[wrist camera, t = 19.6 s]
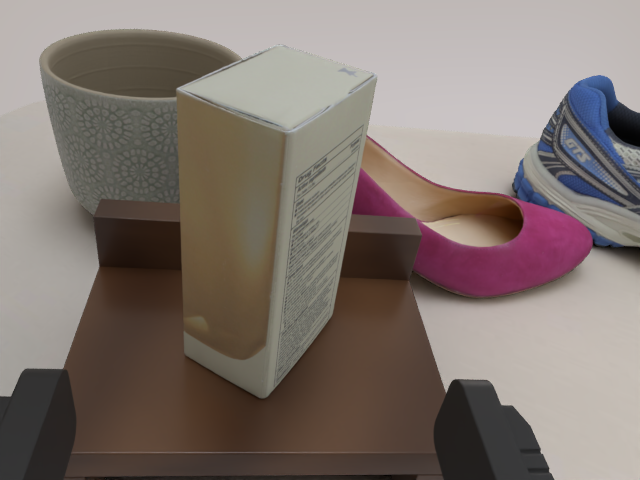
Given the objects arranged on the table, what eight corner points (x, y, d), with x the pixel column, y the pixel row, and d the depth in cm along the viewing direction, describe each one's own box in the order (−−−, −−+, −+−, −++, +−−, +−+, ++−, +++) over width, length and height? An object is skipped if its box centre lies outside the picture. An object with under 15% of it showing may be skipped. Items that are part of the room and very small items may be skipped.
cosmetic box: (260, 281, 29) (282, 38, 22) (335, 317, 27) (385, 70, 20) (175, 360, 24) (168, 81, 17) (261, 408, 23) (292, 127, 15)
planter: (271, 203, 44) (285, 66, 38) (155, 282, 35) (147, 119, 29) (154, 149, 49) (148, 18, 42) (24, 207, 40) (-8, 51, 33)
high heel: (560, 238, 46) (628, 91, 38) (609, 312, 39) (703, 150, 31) (238, 211, 43) (247, 47, 36) (228, 286, 36) (237, 101, 29)
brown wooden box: (52, 526, 23) (16, 398, 18) (114, 316, 32) (100, 198, 28) (434, 519, 25) (489, 404, 20) (385, 325, 35) (415, 217, 30)
